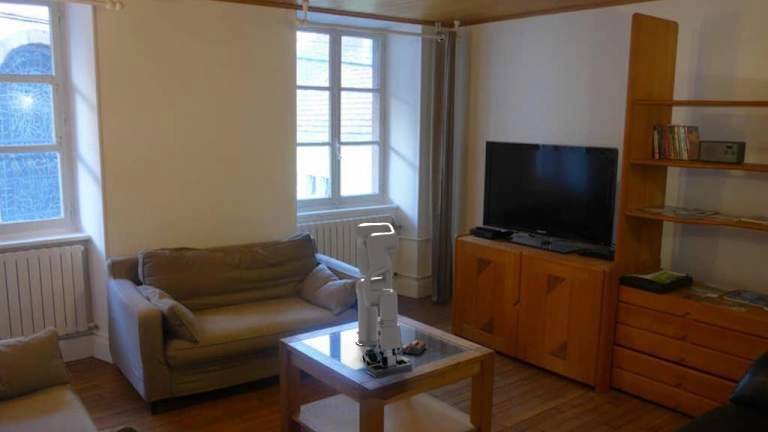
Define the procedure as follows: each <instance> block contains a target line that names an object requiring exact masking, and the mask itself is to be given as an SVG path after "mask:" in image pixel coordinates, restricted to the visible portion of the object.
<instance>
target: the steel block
mask: <svg viewBox="0 0 768 432" xmlns="http://www.w3.org/2000/svg"><path fill="white" fill-rule="evenodd" d="M386 357H387V366H385V365H383V366H385V367H387V368H389V367H394V366H396V355H394V354H392V352H388V353H387V352H386Z"/></svg>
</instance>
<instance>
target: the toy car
mask: <svg viewBox="0 0 768 432" xmlns="http://www.w3.org/2000/svg"><path fill="white" fill-rule="evenodd" d="M361 357H362V359H363V360H362V362H366V364H365V365H366V367H367V366H370V365H375V364H379V363H382V361H381V360H380V357H379V356H378V354H377V352H376V351H375V349H373V348H369V349H365V350H363V351H362V355H361Z"/></svg>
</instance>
